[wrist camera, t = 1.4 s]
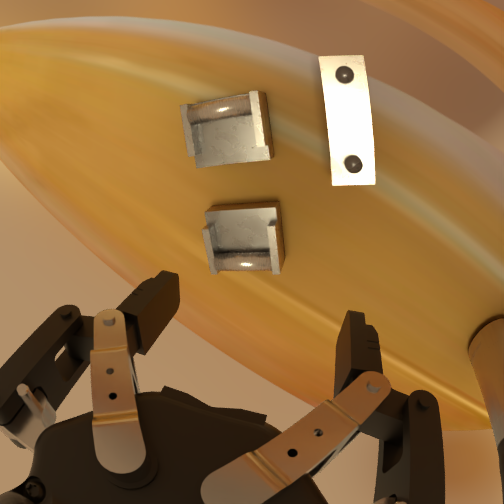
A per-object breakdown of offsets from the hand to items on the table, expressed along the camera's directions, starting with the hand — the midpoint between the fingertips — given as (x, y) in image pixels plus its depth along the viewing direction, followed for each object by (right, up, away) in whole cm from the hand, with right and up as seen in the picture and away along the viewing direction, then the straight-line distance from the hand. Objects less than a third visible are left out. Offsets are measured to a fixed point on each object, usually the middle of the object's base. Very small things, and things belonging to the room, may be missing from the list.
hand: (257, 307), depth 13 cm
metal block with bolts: (+9, +16, +14) cm, 23 cm away
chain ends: (-1, +10, +19) cm, 22 cm away
